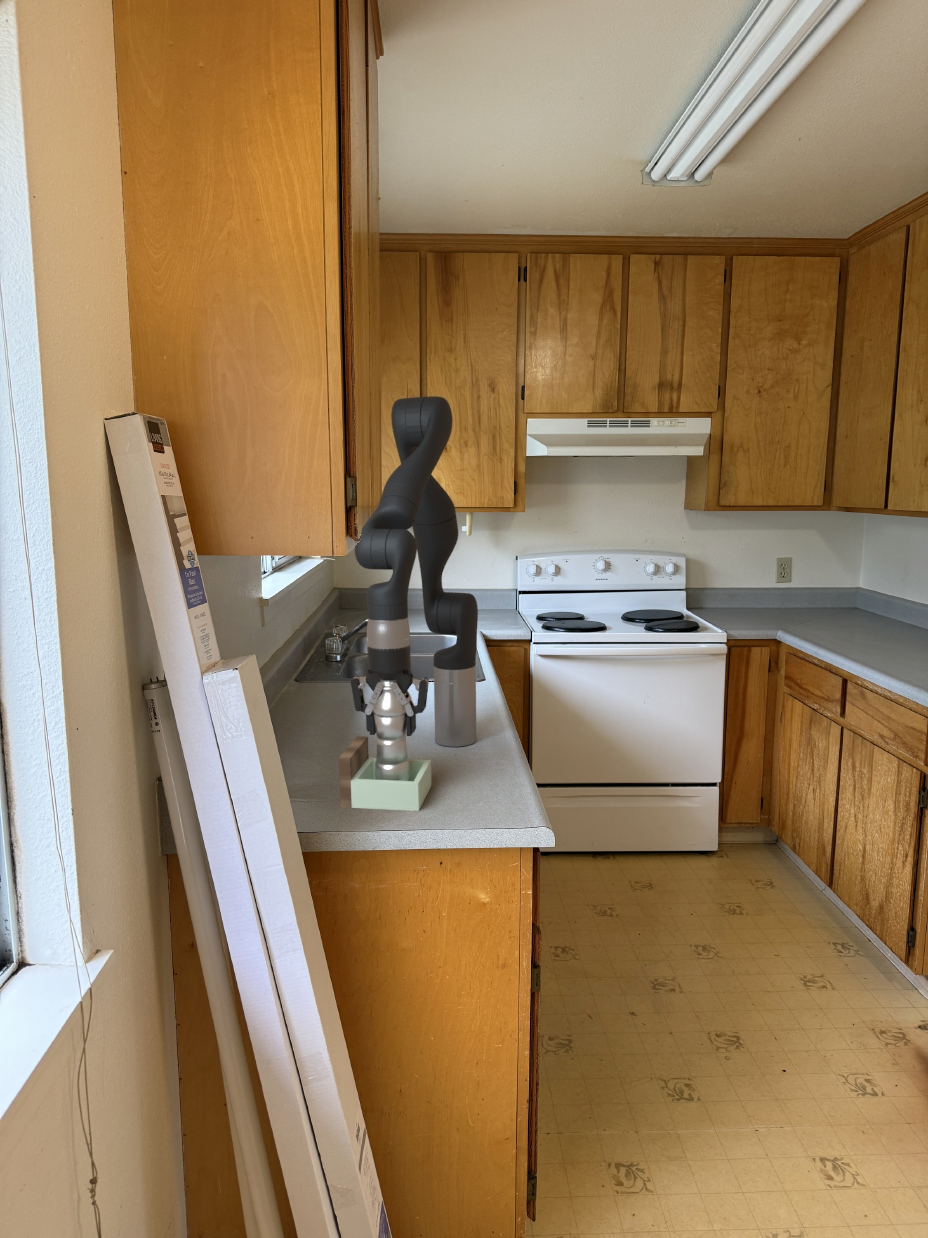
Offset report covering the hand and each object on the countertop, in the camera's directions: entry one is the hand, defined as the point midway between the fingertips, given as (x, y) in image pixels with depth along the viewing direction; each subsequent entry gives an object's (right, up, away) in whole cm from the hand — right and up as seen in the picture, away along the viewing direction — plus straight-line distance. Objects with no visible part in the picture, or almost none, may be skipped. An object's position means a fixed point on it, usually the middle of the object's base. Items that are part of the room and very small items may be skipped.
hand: (391, 734), depth 147 cm
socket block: (0, -12, +2) cm, 12 cm away
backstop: (+4, -13, +2) cm, 13 cm away
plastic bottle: (0, -10, +2) cm, 10 cm away
